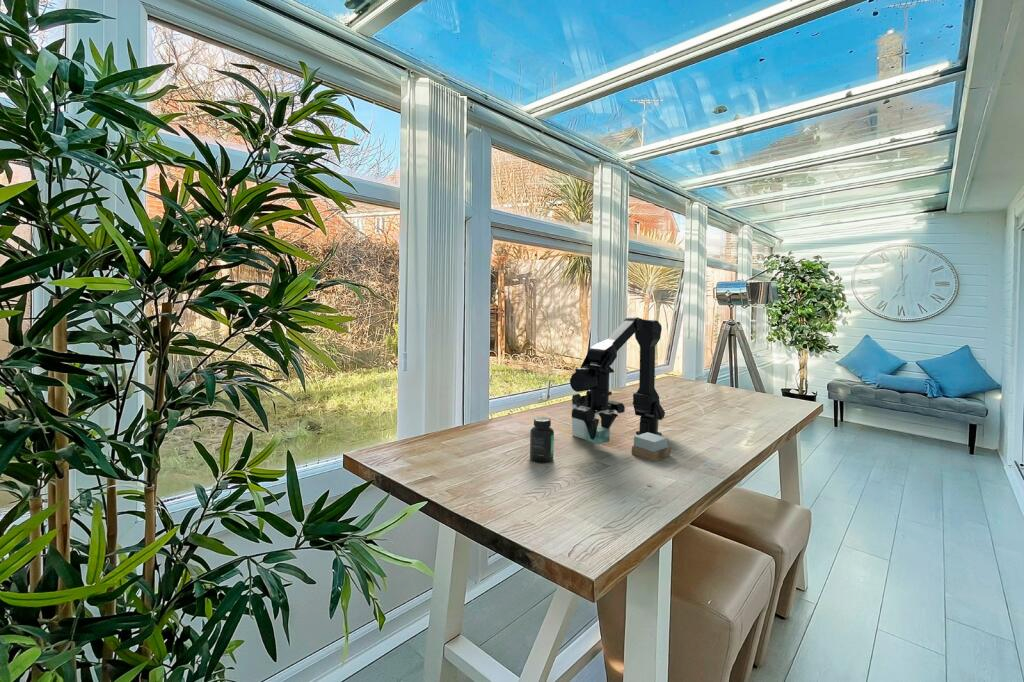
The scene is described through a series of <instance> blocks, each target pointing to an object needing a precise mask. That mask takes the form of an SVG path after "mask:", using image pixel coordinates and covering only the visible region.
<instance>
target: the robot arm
mask: <svg viewBox="0 0 1024 682" xmlns="http://www.w3.org/2000/svg"><path fill="white" fill-rule="evenodd" d="M661 334H662V324H661V323H660V322H659V320H653V319H644V318H640V317H637V316H636V317H635V316H634V317H633V316H628V317H625V318H624V319H623V322H622V323H621V324H620V325H619V326H618V327H617V328H616V329H615V330H614V331H613V332H612V333H611V334H610V335H608V337H607V338H606V339H605V340H603V341H600V342H598V343H596V344H594V345H593V346H591V347H590V348H589V349H588V350H587V354H586V356H585V358H584V360H583V362H582V363H581V365H580V368H579V367H577V368H575V369H574V370H575V372H573V373H572V374H571V375H570V379H569V384H570V387H571V389H572V390H573V391H575V392H576V393H575V394H571V395H572V397H571V404H572V403H573V405H576V406H577V407H578V408H574V409H573V410H572V409H571V419H572V418H576V419H579V420H583V421H584V422H585V424H586V426H587V429H588V432H589V436H590V439H592V440H593V439H594V438H595V435H596V431H597V427H598V426H599V424H600V426H602V427H605V428H609V429H611V426H612V425H613V423H614V422H615V420H616V418H617V417H619V414H623V413H625V412H626V411H625V409H626V406H625V405H624V404H623V403H624V402H620V401H614V400H609V399H610V397H609V396H612V393H613V392H612V391H610V374H612V373H614V372H615V370H614V369H613V368H612V367H611V365H613V363H614V362H615V360H616V358H618V351H619V350H620V349H621V348H622V347H623V345H625V344H626V343H627V342H628V341H629V339H631V337H632V336H633V335H634V336H635V340H636V341H637V344H638V345H639V381H638V382H639V384H638V385H639V387H638V389H637V390H636V392H634V393H633V394H632V399H633V401H632V405H633V410H634V413H635V414H634V415H635V416H639V417H640V418H639V427H638V428H639V430H638V431H635V434H637V435H640V434H643V433H647V432H649V433H652V434H656V435H660V436H663V435H662V432H659V420H660V421H662V420H663V419H664V418H665V415H666V411H665V409H664V408H663V407H662V406H661V403H660V402H661V401H660V395H659V393H658V392H657V390H656V388H655V386H656V385H655V379H656V375H655V373H656V372H655V371H656V345H658V343H659V341H660V340H661ZM578 392H585V395H581V394H580V393H578ZM579 406H585V407H587V408H584V407H579ZM588 407H589V408H590V409H588ZM597 415H599V417H600V418H597ZM599 422H600V423H599Z"/></svg>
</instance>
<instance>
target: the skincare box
mask: <svg viewBox="0 0 1024 682" xmlns="http://www.w3.org/2000/svg"><path fill="white" fill-rule="evenodd" d="M579 407H584V408H587V407H585V406H579ZM574 408H578V407H577V406H576V405H573V403H572V402H571V411H572V410H573V409H574ZM588 409H590V408H589V407H588ZM571 431H572V432H571V435H572V436H573V437H575V438H580V439H582V440H586V434H587V426H586V424H585V422H584V421H583V420H579V419H576V418H572V417H571Z"/></svg>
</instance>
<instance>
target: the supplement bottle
mask: <svg viewBox="0 0 1024 682" xmlns="http://www.w3.org/2000/svg"><path fill="white" fill-rule="evenodd" d="M551 421H552V420H551V418H550V417H547V416H546V417H544V416H538V417H534V419H533V427H531V429H530V432H529V459H530V461H531V462H534V463H535V464H549V463H551V462H552V461H554V447H555V442H554V441H555V432H554V431H555V430H554V428H552V427H551V426H552V425H551V423H552V422H551Z"/></svg>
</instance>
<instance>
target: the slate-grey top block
mask: <svg viewBox="0 0 1024 682" xmlns="http://www.w3.org/2000/svg"><path fill="white" fill-rule="evenodd" d="M668 439H669V437H667V436H663V435H656V434H652V433H649V432H647V433H643V434H637V435H634V436H633V446H635V447H639V448H642V449H645V450H648V451H651V452H656V451H659V450H662V449H665V448H667V447H668V444H669V443H668V442H669V441H668Z"/></svg>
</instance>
